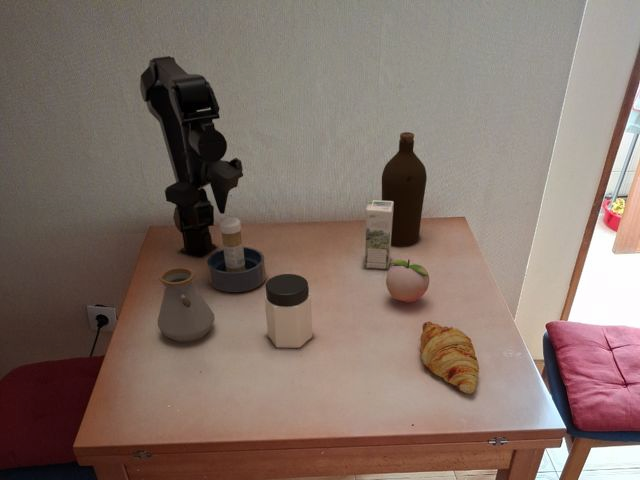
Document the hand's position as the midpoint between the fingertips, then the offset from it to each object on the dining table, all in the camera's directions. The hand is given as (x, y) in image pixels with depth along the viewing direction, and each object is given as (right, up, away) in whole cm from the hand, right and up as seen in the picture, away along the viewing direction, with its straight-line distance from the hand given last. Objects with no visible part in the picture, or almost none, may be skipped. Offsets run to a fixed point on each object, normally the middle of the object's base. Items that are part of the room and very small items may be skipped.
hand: (209, 221), depth 134 cm
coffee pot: (-1, -29, -12) cm, 32 cm away
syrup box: (+38, -7, +11) cm, 40 cm away
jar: (+18, -27, -11) cm, 35 cm away
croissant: (+48, -34, -19) cm, 62 cm away
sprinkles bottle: (+5, -11, +6) cm, 14 cm away
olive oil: (+45, +2, +21) cm, 49 cm away
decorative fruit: (+43, -19, -2) cm, 47 cm away
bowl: (+5, -12, +6) cm, 14 cm away
